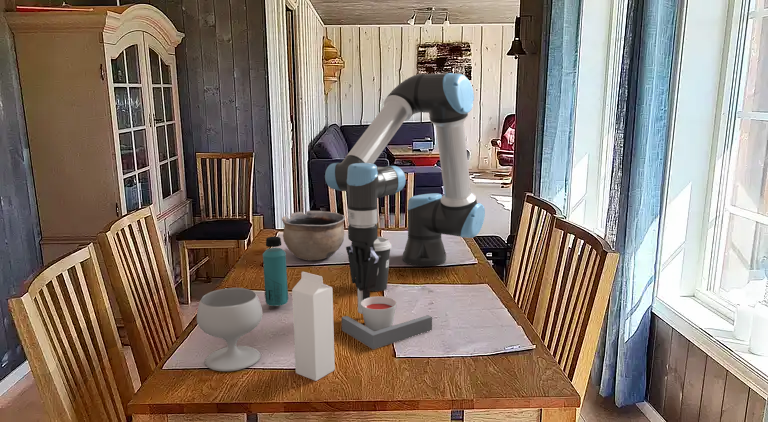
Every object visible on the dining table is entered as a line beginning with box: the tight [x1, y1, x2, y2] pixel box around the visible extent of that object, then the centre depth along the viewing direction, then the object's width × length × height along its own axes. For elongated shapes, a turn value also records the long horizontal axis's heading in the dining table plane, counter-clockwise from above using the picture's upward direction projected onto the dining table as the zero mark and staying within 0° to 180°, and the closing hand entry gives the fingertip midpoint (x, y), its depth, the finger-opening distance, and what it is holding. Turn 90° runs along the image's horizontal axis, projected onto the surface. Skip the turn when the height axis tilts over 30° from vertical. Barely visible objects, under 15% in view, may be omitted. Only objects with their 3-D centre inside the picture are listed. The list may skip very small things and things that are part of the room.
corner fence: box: [341, 314, 433, 350], centre depth 144 cm, size 18×14×4 cm
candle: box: [361, 296, 397, 331], centre depth 147 cm, size 9×9×6 cm
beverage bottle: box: [262, 236, 289, 307], centre depth 159 cm, size 6×7×20 cm
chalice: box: [196, 287, 263, 372], centre depth 128 cm, size 14×14×15 cm
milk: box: [291, 271, 336, 382], centre depth 122 cm, size 6×6×22 cm
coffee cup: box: [370, 236, 392, 292], centre depth 174 cm, size 10×10×15 cm
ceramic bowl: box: [281, 210, 346, 261], centre depth 205 cm, size 22×22×15 cm
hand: (363, 311), depth 152 cm, fingers closed
